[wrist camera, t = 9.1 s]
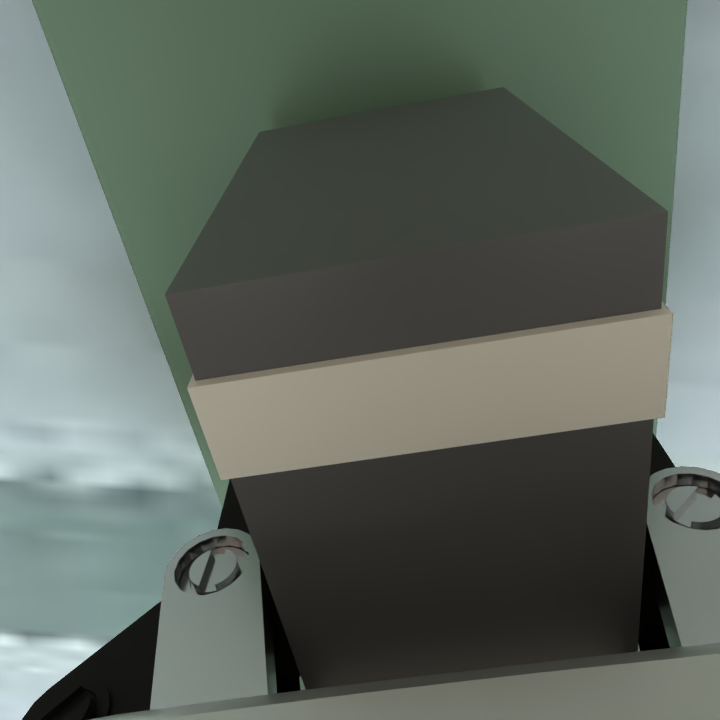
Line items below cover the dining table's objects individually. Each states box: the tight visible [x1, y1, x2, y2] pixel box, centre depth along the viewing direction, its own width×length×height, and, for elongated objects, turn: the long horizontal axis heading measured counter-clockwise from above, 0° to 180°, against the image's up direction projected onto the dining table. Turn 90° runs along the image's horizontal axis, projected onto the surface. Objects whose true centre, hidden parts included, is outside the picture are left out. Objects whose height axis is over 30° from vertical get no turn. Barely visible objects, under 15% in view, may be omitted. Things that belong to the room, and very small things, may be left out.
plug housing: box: [165, 87, 673, 690], centre depth 10 cm, size 11×4×6 cm, turn 10°
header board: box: [32, 0, 687, 508], centre depth 13 cm, size 20×10×6 cm, turn 10°
